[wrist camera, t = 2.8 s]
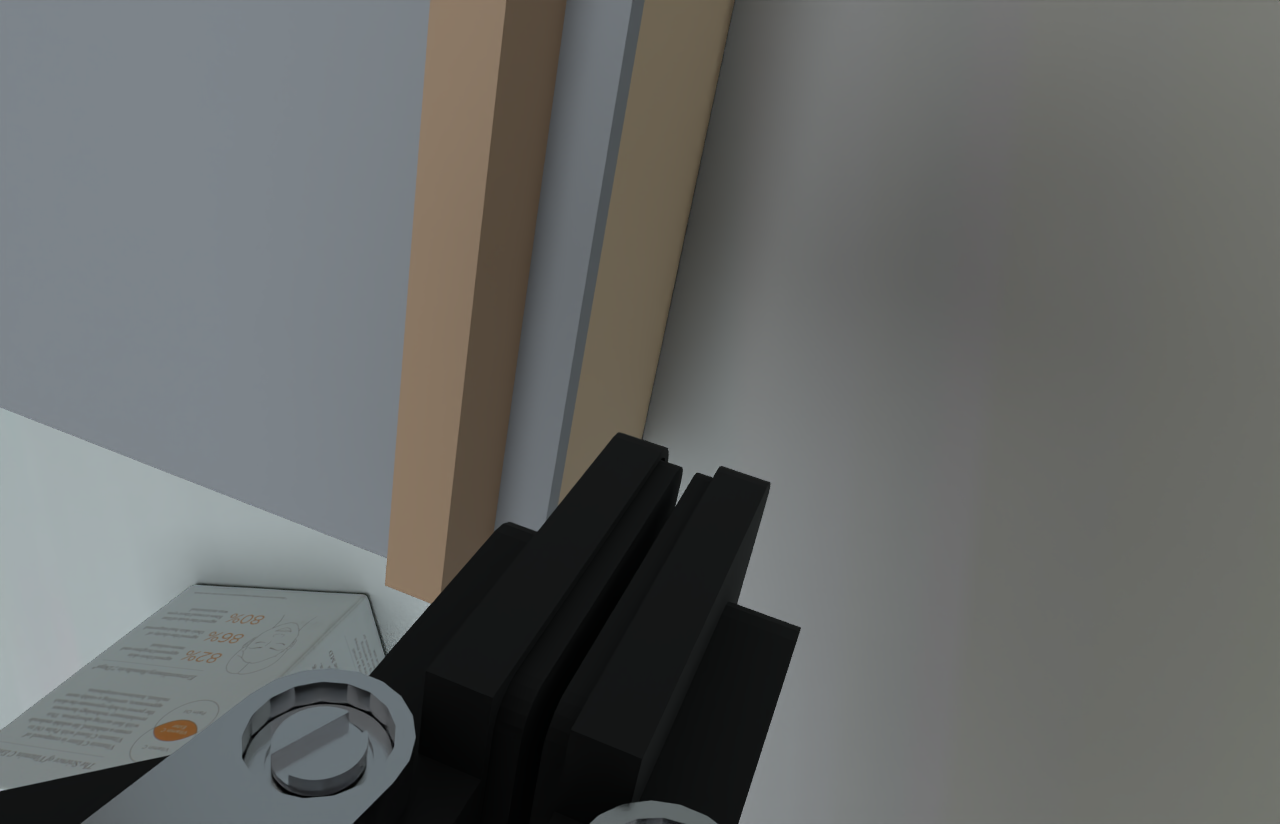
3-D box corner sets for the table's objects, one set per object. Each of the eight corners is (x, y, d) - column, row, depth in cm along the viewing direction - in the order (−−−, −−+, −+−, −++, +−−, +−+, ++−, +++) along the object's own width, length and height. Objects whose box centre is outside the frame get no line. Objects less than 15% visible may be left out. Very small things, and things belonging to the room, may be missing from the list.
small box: (237, 700, 39) (2, 924, 30) (192, 578, 37) (-74, 778, 28) (410, 722, 36) (207, 976, 27) (372, 590, 34) (138, 818, 25)
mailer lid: (670, -146, 15) (603, -164, 13) (541, 598, 22) (482, 677, 20) (-230, -328, 19) (-410, -368, 17) (-104, 349, 26) (-218, 390, 24)
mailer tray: (756, -105, 22) (653, -126, 16) (640, 443, 28) (537, 575, 22) (88, -244, 26) (-200, -304, 20) (122, 266, 32) (-86, 339, 26)
